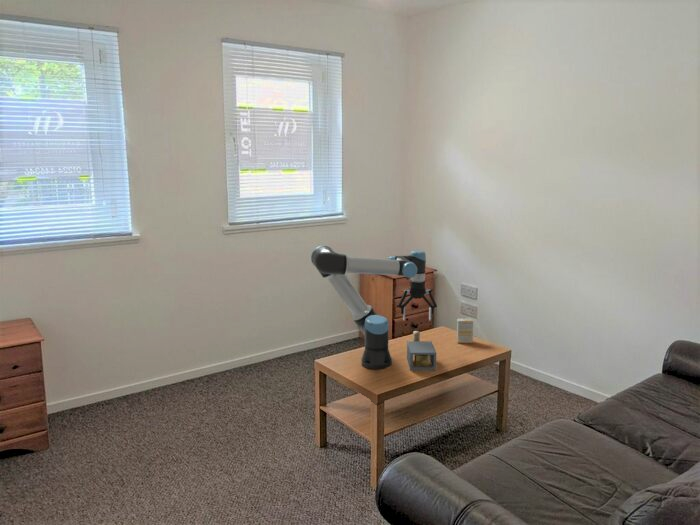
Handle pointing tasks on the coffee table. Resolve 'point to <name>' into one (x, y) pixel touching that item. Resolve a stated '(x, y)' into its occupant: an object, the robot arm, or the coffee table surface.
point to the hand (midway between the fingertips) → (417, 320)
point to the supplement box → (464, 330)
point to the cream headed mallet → (419, 359)
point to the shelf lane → (421, 353)
